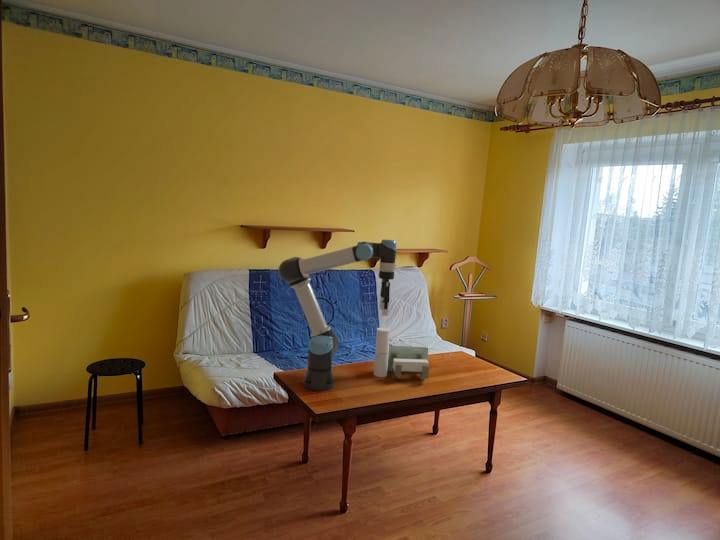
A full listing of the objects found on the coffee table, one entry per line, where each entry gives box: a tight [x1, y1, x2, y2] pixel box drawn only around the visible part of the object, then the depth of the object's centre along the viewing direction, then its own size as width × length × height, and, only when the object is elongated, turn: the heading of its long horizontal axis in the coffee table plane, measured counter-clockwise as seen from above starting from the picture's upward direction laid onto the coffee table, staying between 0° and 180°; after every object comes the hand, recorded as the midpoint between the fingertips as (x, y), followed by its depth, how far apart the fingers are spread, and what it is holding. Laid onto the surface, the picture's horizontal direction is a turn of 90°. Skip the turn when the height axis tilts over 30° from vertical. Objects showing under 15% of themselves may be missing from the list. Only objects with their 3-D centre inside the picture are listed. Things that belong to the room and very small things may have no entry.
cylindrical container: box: [373, 327, 391, 378], centre depth 247 cm, size 7×7×25 cm
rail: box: [393, 358, 430, 373], centre depth 245 cm, size 18×5×5 cm, turn 95°
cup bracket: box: [387, 345, 430, 381], centre depth 247 cm, size 22×19×14 cm
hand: (383, 312), depth 234 cm, fingers open, 13 cm apart
